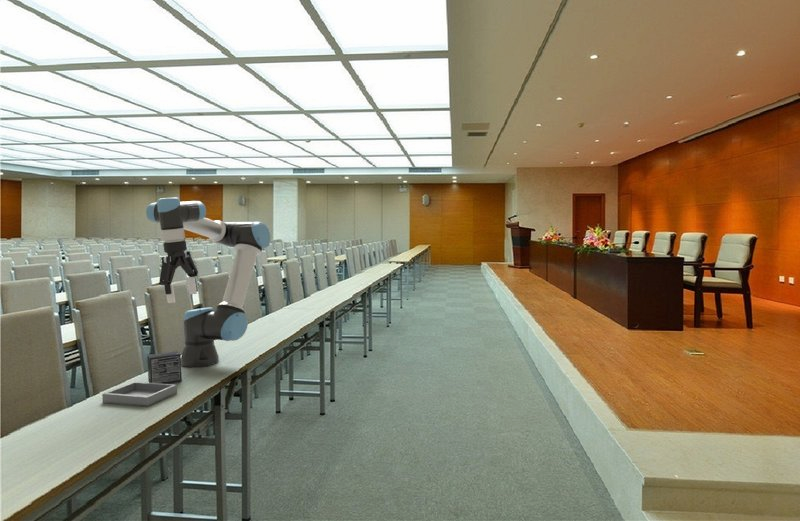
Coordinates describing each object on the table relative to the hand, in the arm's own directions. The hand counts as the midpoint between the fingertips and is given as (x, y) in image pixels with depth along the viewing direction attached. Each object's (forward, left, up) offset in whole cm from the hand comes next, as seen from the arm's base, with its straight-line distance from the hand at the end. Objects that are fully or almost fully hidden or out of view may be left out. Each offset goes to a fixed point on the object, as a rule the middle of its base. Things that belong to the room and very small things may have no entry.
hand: (182, 298), depth 186 cm
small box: (+2, -7, -31) cm, 32 cm away
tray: (+20, -2, -31) cm, 37 cm away
